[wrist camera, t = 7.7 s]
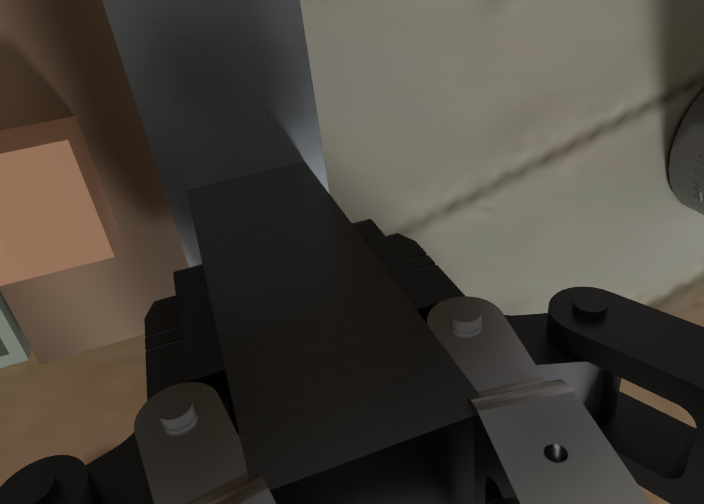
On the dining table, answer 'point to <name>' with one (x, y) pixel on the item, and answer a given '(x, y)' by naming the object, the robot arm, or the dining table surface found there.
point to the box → (11, 338)
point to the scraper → (290, 264)
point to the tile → (50, 202)
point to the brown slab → (111, 165)
